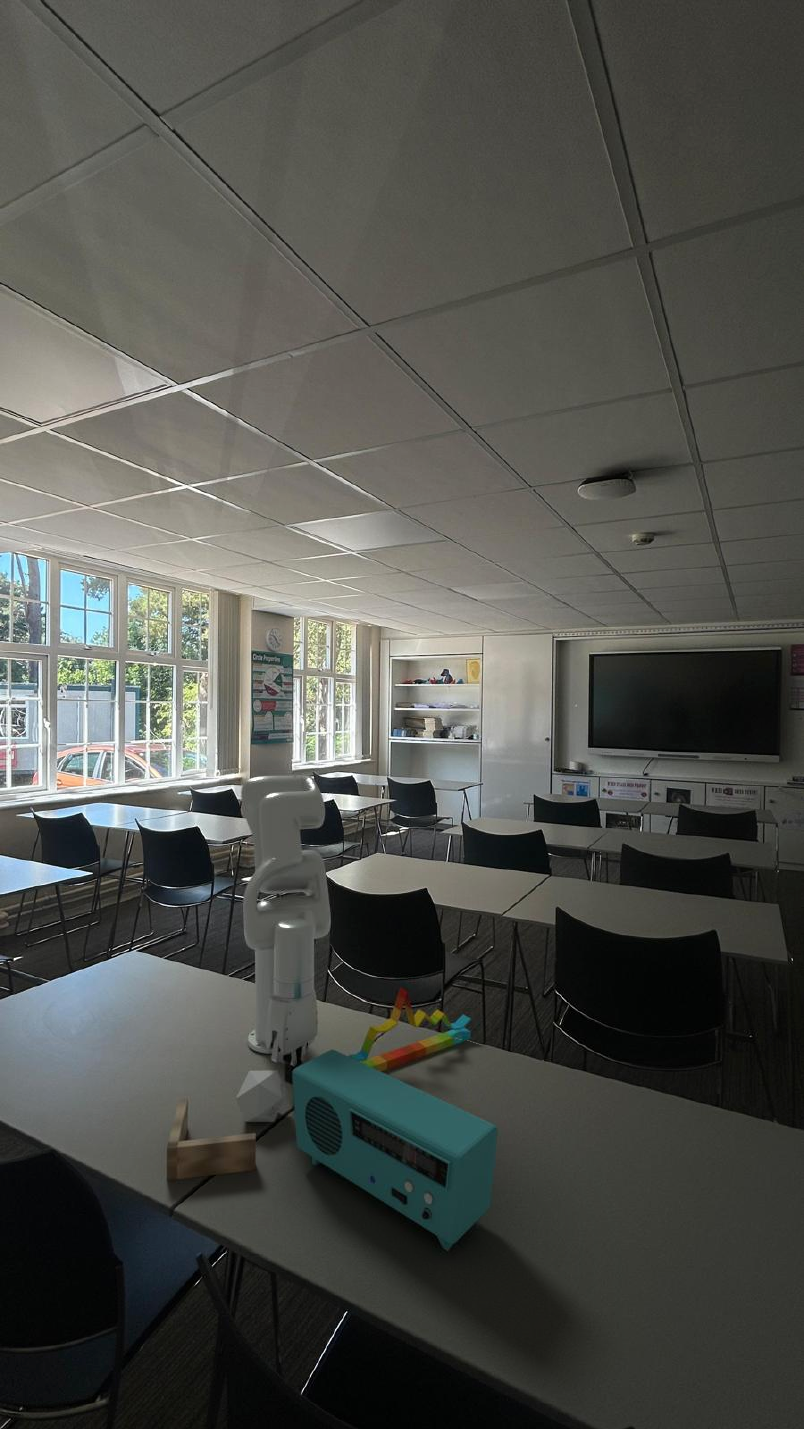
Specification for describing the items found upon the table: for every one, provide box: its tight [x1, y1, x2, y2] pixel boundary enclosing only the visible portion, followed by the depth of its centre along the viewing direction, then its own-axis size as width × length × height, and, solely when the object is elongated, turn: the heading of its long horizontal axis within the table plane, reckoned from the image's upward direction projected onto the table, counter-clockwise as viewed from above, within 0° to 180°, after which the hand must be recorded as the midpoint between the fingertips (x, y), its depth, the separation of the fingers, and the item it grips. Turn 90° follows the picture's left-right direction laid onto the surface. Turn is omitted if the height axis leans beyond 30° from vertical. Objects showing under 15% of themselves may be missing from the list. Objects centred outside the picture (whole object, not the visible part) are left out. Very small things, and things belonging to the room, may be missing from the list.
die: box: [235, 1070, 287, 1123], centre depth 121 cm, size 8×9×10 cm
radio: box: [292, 1049, 499, 1252], centre depth 102 cm, size 34×10×15 cm, turn 50°
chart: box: [348, 987, 472, 1072], centre depth 144 cm, size 30×3×15 cm, turn 126°
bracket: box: [166, 1098, 257, 1181], centre depth 109 cm, size 11×19×5 cm, turn 56°
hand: (293, 1081), depth 128 cm, fingers closed
